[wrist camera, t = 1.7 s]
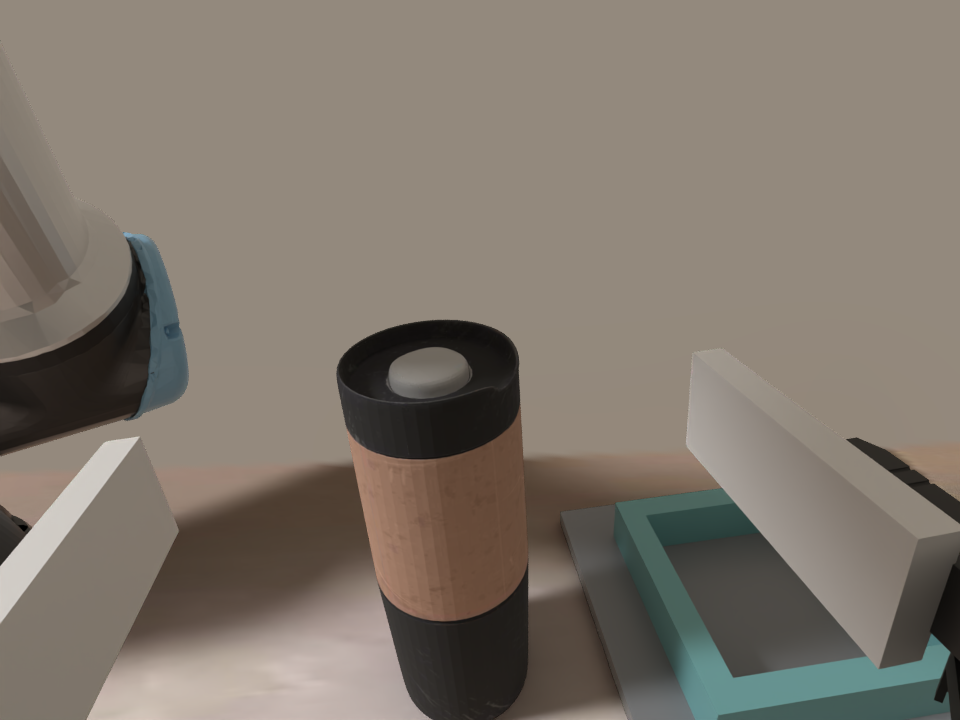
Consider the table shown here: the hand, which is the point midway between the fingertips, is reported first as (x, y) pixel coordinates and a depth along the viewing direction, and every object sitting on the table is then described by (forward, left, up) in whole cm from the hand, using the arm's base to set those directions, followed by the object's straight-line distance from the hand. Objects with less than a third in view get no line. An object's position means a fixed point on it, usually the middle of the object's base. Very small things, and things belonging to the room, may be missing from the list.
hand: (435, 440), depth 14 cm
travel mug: (0, +10, -23) cm, 25 cm away
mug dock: (+18, +10, -22) cm, 30 cm away
